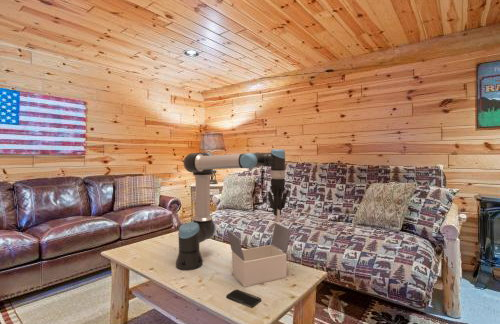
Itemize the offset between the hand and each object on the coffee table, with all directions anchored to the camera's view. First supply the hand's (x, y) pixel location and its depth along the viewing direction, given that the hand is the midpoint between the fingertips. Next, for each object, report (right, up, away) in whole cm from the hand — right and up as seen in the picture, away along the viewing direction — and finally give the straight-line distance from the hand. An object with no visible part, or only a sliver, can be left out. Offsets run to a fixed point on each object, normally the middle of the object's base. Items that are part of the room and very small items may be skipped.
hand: (277, 221), depth 155 cm
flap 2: (+2, -9, +1) cm, 9 cm away
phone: (-18, -30, -27) cm, 44 cm away
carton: (-10, -28, -4) cm, 30 cm away
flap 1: (-22, -10, -10) cm, 26 cm away
